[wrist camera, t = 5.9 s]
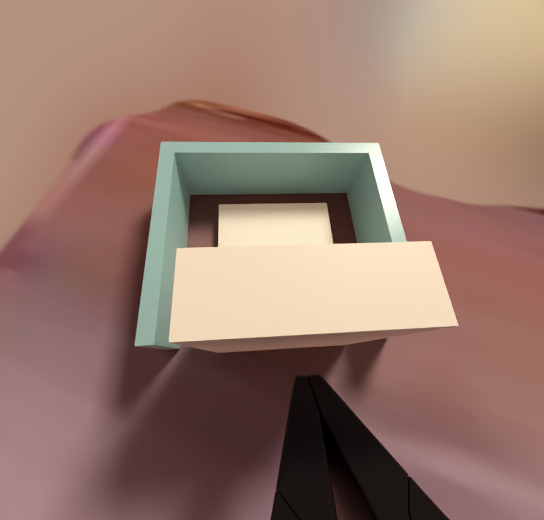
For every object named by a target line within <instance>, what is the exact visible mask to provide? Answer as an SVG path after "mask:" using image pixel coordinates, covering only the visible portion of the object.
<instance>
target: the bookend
mask: <svg viewBox="0 0 544 520" xmlns="http://www.w3.org/2000/svg"><path fill="white" fill-rule="evenodd" d="M454 326H458V323H457V320H456V317H455V314H454V311H453V307H452V304H451V301H450V298H449V295H448V292H447V289H446V286H445V283H444V280H443V277H442V273H441V270H440V267H439V264H438V261H437V258H436V255H435V252H434V249H433V246H432V243H431V241H422V242H386V243H349V244H333V238H332V232H331V226H330V220H329V214H328V208H327V203H283V204H219V232H218V247H202V248H177V251H176V262H175V274H174V286H173V297H172V309H171V321H170V332H169V343H174V344H179V345H183V346H188V347H193V348H197V349H202V350H207V351H212V352H216V353H224V352H240V351H257V350H273V349H289V348H305V347H321V346H338V345H348V344H354V343H360V342H366V341H372V340H378V339H384V338H390V337H395V336H401V335H407V334H413V333H419V332H425V331H431V330H437V329H442V328H448V327H454Z"/></svg>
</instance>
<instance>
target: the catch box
mask: <svg viewBox="0 0 544 520" xmlns="http://www.w3.org/2000/svg"><path fill="white" fill-rule="evenodd" d="M314 193H347V198H348V202H349V207H350V212H351V217H352V222H353V227H354V232H355V236H356V241H357V243H386V242H407V241H406V237H405V234H404V230H403V227H402V223H401V220H400V216H399V213H398V209H397V206H396V202H395V199H394V195H393V192H392V188H391V185H390V181H389V178H388V174H387V171H386V167H385V164H384V160H383V157H382V154H381V150H380V147H379V143H276V142H161V146H160V154H159V162H158V169H157V177H156V185H155V192H154V200H153V208H152V215H151V223H150V231H149V238H148V246H147V254H146V261H145V269H144V277H143V284H142V292H141V300H140V307H139V315H138V323H137V330H136V338H135V346H138V347H146V348H155V349H163V350H171V349H180V345H179V344H174V343H169V332H170V321H171V309H172V297H173V286H174V274H175V262H176V251H177V248H187V239H188V224H189V209H190V195H228V194H314Z"/></svg>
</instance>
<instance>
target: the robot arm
mask: <svg viewBox="0 0 544 520" xmlns="http://www.w3.org/2000/svg"><path fill="white" fill-rule="evenodd" d="M271 520H449V519H448V518H447V517H446V516H445V514H444V513H443V512H442V511H441V510H440V509H439V508H438V507H437V506H436V505H435V504H434V502H433V501H432V500H431V499H430V498H429V497H428V496H427V495H426V494H425V493H424V492H423V490H422V489H421V488H420V487H419V486H418V485H417V484H416V482H415V481H414V480H413V479H412V478H411V477H408V474H407V472H406V471H405V470H404V469H403V468H402V467H401V466H400V464H399V463H398V462H397V461H396V460H395V459H394V458H393V457H392V455H391V454H390V453H389V452H388V451H387V450H386V449H385V447H384V446H383V445H382V444H381V443H380V442H379V441H378V440H377V438H376V437H375V436H374V435H373V434H372V433H371V432H370V431H369V429H368V428H367V427H366V426H365V425H364V424H363V423H362V421H361V420H360V419H359V418H358V417H357V416H356V415H355V414H354V412H353V411H352V410H351V409H350V408H349V407H348V406H347V404H346V403H345V402H344V401H343V400H342V399H341V398H340V397H339V395H338V394H337V393H336V392H335V391H334V390H333V389H332V387H331V386H330V385H329V384H328V383H327V382H326V381H325V380H324V378H323V377H322V376H321V375H320V374H309V375H307V376H306V375H296V376H295V377H294V381H293V388H292V394H291V400H290V406H289V412H288V418H287V424H286V430H285V437H284V443H283V449H282V455H281V461H280V467H279V473H278V479H277V486H276V492H275V497H274V503H273V509H272V515H271Z"/></svg>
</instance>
